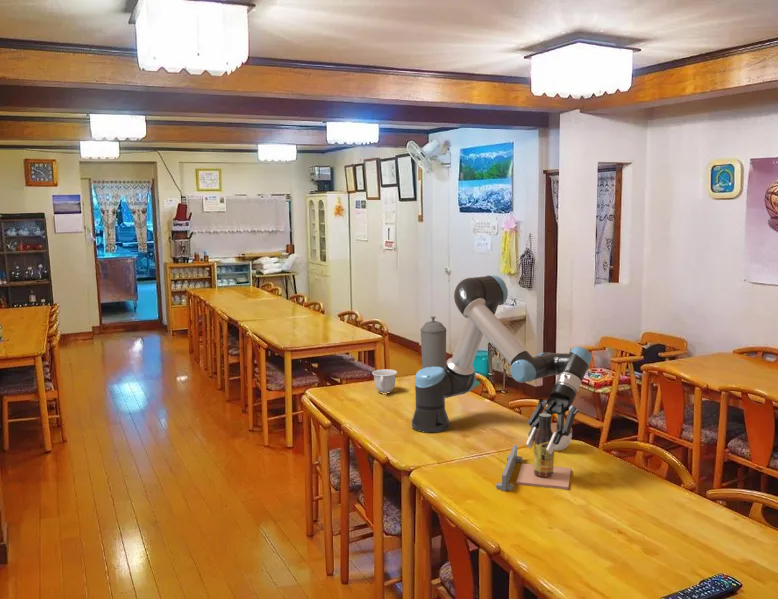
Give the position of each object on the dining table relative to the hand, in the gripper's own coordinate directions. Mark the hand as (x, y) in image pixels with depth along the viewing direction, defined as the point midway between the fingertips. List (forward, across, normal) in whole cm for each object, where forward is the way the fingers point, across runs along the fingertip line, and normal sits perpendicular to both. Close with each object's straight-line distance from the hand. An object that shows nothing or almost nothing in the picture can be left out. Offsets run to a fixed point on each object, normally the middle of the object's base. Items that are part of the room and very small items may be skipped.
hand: (538, 449), depth 217 cm
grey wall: (+8, -10, +6) cm, 14 cm away
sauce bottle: (+4, 0, +9) cm, 10 cm away
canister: (-37, -98, +52) cm, 117 cm away
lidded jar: (-13, -11, +28) cm, 33 cm away
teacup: (-20, -109, +36) cm, 117 cm away
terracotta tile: (+5, 0, +10) cm, 11 cm away
